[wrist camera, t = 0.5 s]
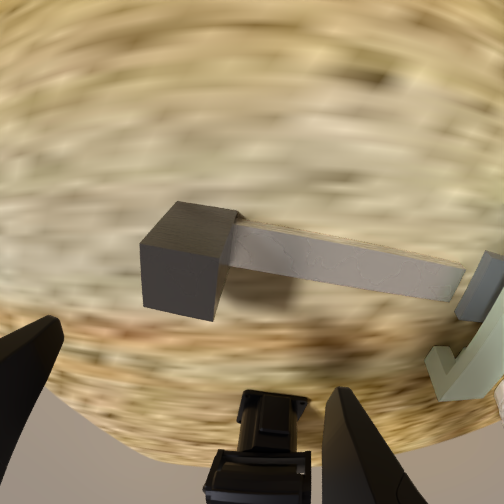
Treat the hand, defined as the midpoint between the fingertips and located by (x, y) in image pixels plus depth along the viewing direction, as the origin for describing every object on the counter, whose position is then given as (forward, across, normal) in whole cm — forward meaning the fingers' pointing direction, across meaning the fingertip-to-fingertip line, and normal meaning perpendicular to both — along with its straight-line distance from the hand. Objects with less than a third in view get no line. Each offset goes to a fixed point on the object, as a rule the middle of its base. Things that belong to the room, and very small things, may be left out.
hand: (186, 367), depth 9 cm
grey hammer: (+13, -6, +2) cm, 14 cm away
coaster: (+13, -22, +1) cm, 25 cm away
